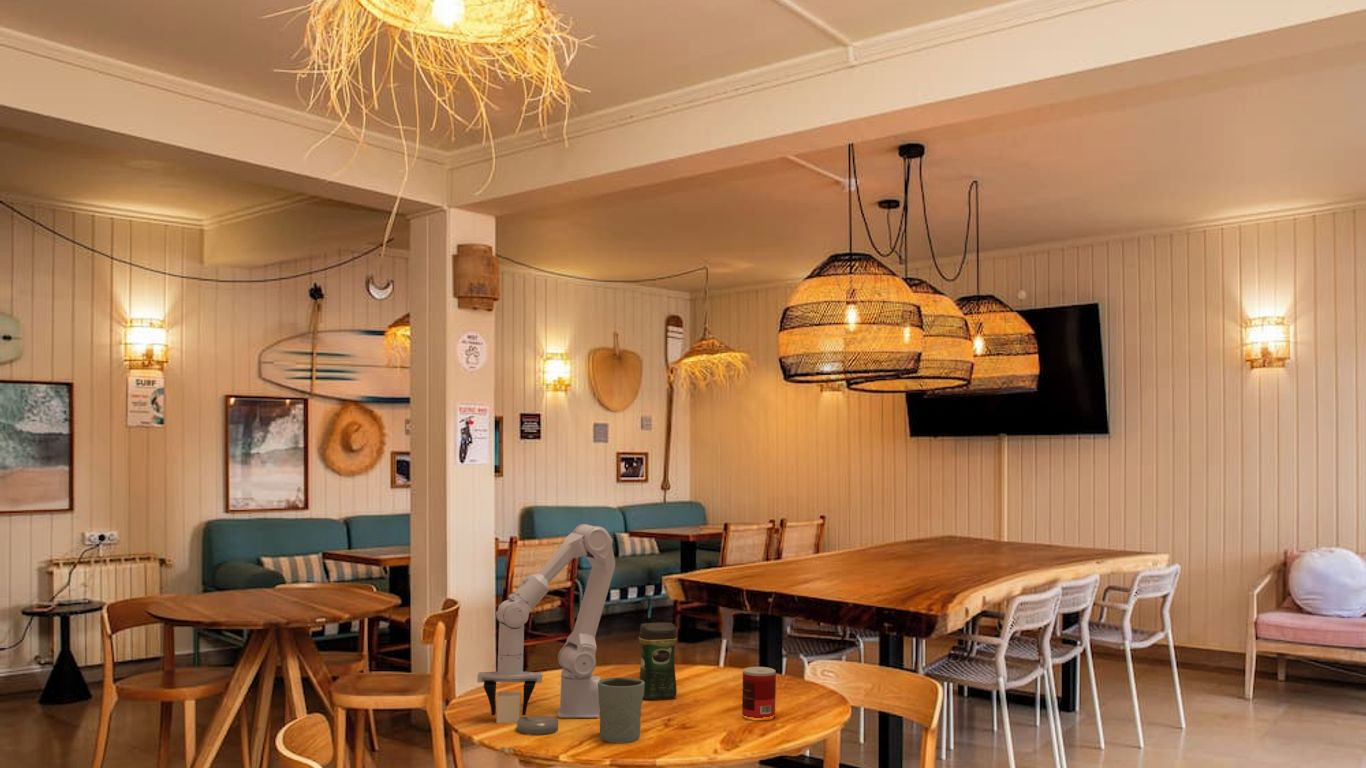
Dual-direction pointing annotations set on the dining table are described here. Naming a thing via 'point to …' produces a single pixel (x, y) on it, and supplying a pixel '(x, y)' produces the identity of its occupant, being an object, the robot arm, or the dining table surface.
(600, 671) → the dining table surface
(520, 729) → the slate trivet
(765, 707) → the canned food
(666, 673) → the coffee jar
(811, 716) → the dining table surface
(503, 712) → the cream block
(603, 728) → the green cup
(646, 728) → the dining table surface
